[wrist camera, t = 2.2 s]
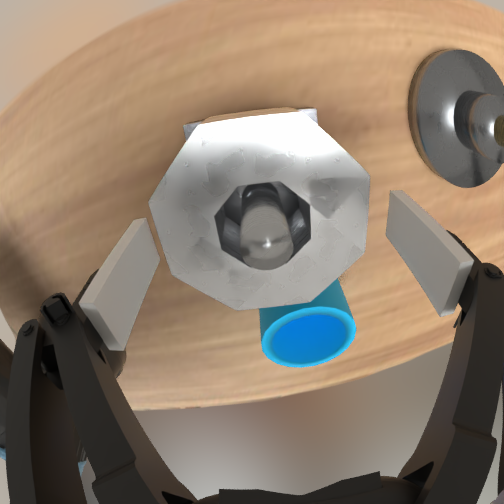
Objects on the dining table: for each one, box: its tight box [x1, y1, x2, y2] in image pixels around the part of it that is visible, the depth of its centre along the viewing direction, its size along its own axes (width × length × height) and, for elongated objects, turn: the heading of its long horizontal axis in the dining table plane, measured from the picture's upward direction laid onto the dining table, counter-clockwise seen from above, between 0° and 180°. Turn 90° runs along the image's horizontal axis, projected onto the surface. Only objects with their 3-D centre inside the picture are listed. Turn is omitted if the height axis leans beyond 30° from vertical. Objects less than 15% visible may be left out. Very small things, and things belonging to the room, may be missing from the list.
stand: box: [183, 108, 318, 270], centre depth 18 cm, size 10×10×12 cm
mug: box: [259, 278, 356, 367], centre depth 27 cm, size 12×8×8 cm
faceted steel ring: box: [148, 107, 370, 311], centre depth 16 cm, size 11×11×4 cm
